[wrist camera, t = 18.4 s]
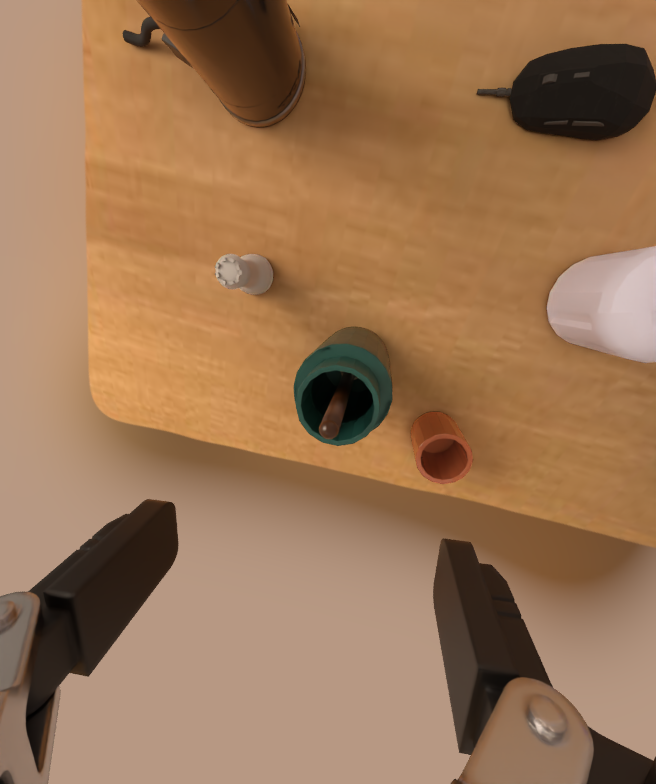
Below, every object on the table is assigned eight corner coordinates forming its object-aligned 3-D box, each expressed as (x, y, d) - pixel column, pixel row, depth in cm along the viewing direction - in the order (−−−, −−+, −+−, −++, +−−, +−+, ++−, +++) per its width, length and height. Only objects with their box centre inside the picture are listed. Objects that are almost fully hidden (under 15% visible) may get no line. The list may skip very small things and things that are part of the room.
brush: (339, 364, 42) (299, 437, 21) (351, 348, 41) (321, 405, 20) (356, 376, 42) (333, 459, 21) (368, 359, 41) (356, 428, 20)
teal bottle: (308, 369, 43) (263, 419, 26) (344, 313, 41) (319, 328, 24) (363, 405, 43) (352, 477, 27) (402, 351, 41) (417, 393, 24)
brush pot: (401, 438, 44) (405, 464, 37) (429, 402, 42) (438, 423, 35) (438, 462, 44) (449, 493, 37) (468, 428, 42) (484, 454, 36)
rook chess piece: (240, 296, 42) (209, 298, 34) (234, 256, 41) (200, 249, 33) (277, 292, 41) (253, 293, 33) (271, 251, 40) (245, 242, 32)
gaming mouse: (485, 51, 32) (499, 20, 29) (658, 62, 31) (697, 30, 27) (468, 131, 34) (479, 111, 31) (631, 145, 33) (665, 125, 29)
